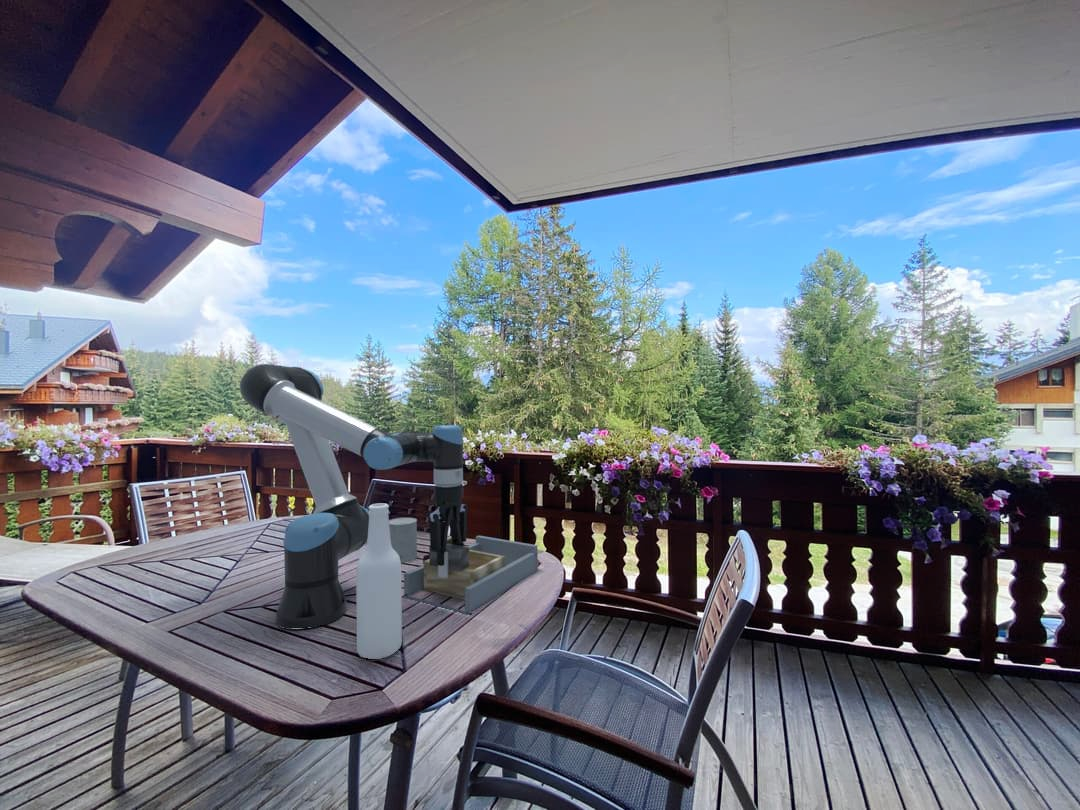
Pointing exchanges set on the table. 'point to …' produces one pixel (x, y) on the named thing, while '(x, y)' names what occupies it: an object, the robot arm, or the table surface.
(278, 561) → the table surface
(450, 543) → the hand tool
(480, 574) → the crate
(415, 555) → the grey cylindrical piece
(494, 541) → the bay
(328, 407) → the robot arm
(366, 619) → the alcohol
